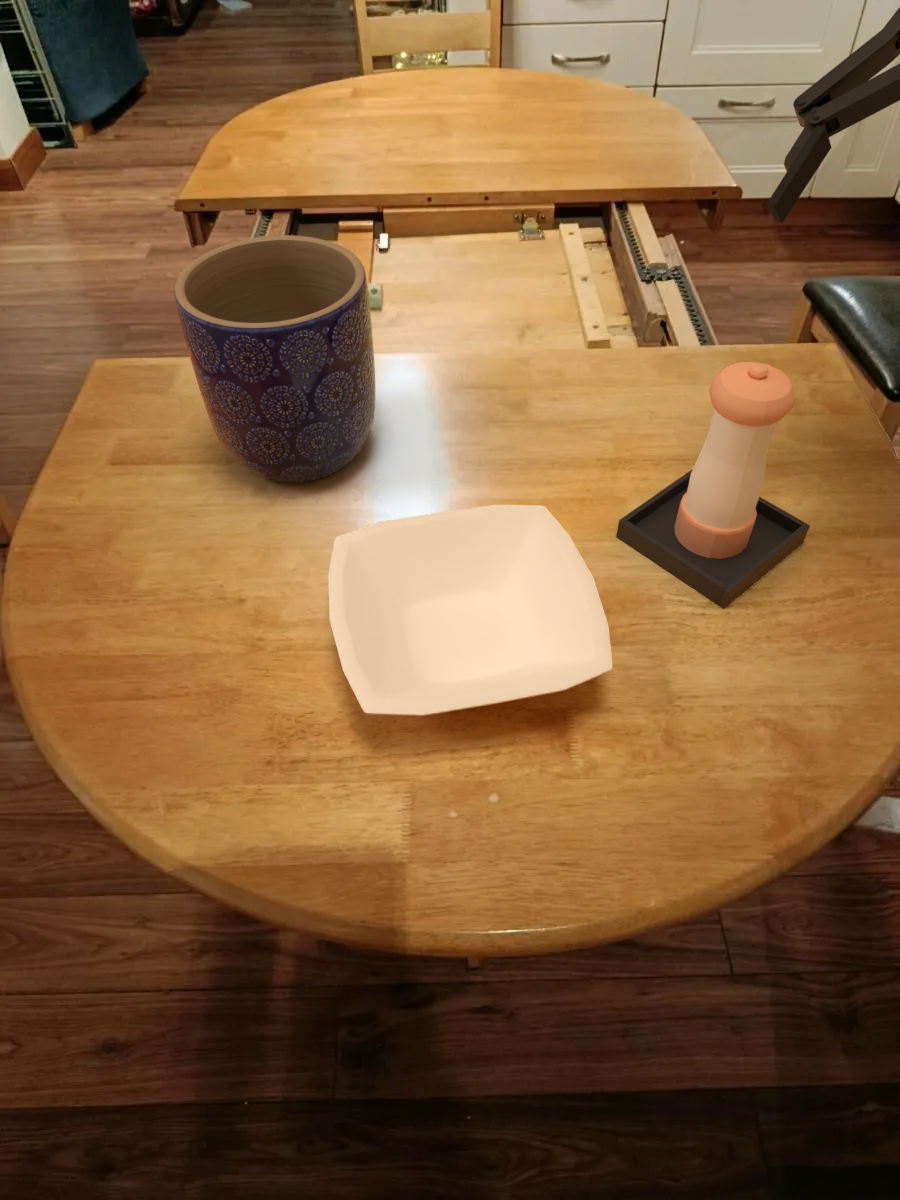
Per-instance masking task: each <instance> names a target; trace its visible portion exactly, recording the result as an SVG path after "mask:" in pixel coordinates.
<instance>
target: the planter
mask: <svg viewBox="0 0 900 1200" xmlns="http://www.w3.org/2000/svg"><path fill="white" fill-rule="evenodd" d="M367 280H368V279H367V275H366V269H365V266H364V265H363V263H362V261H361V260H360V259H359V257H357V255H356V254H355V253H353V252H352V251H350V250H349V249H348V248H346V247H344V246H342V245H339V244H337V243H335V242H333V241H329V240H326V239H322V238H318V237H313V236H306V235H305V236H304V235H291V234H284V235H283V234H282V235H281V234H280V235H265V236H258V237H251V238H246V239H241V240H237V241H233V242H230V243H227V244H224V245H221V246H218V247H216V248H214V249H211V250H209V251H208V252H205V253H203V254H202V255H200V256H198V257H197V258H196V259H194V260H193V261H191V262H190V263H189V264H188V265H187V266H186V267H185V268H184V269H183V270H182V271H181V272H180V273H179V276H178V277H177V279H176V281H175V284H174V290H173V295H174V300H175V306H176V309H177V314H178V318H179V321H180V325H181V329H182V333H183V336H184V340H185V345H186V348H187V352H188V355H189V359H190V363H191V365H192V369H193V372H194V376H195V379H196V382H197V385H198V389H199V392H200V395H201V398H202V401H203V404H204V408H205V409H206V413H207V415H208V418H209V421H210V423H211V427H212V428H213V431H214V432H215V434H216V436H217V438H218V440H219V442H220V444H221V445H222V447H223V448H224V449H225V450H226V452H227V453H228V454H229V455H230V456H231V458H233V459H234V460H235V461H236V462H237V463H239V464H240V465H241V466H242V467H243V468H244V469H246V470H248V471H249V472H251V473H253V474H255V475H257V476H259V477H262V478H264V479H267V480H271V481H276V482H282V483H305V482H312V481H316V480H319V479H322V478H326V477H328V476H330V475H332V474H334V473H336V472H338V471H339V470H341V469H343V468H344V467H346V466H348V464H349V463H350V462H351V461H352V460H353V459H354V458H355V457H356V456H357V455H358V453H359V452H360V451H361V450H362V448H363V447H364V445H365V443H366V442H367V439H368V437H369V435H370V432H371V430H372V427H373V425H374V419H375V412H376V365H375V351H374V338H373V336H374V335H373V324H372V316H371V304H370V296H369V287H368V281H367Z"/></svg>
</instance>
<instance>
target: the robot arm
mask: <svg viewBox="0 0 900 1200" xmlns="http://www.w3.org/2000/svg"><path fill="white" fill-rule="evenodd" d="M899 56H900V7H898V9H896V11H895V12H894V13H893V15H892V16H891V17H890V19H889V20H888V21H887V23H886V24H885V25H884V27H883V28H882V29H881V30H880V31H878V32H877V33H876V34H874V35H873V36H872V37H871V38H869V39H868V40H866V42H865V43H863V44H862V45H861V46H859V47H858V48H857V49H856V50H854V51H853V52H852V53H851V54H849V55H848V56H847V57H846V58H844V59H843V60H842V61H841V62H839V63H838V64H837V65H836V66H834V68H832V69H831V70H829V71H828V72H827V73H826V74H824V75H823V76H822V77H820V78H819V79H818V80H817V81H816V82H814V83H813V84H812V85H811V86H809V87H808V88H807V89H806V90H805V91H803V92H802V93H801V94H800V95H798V96H797V97H796V98H795V99H794V100H793V104H792V106H793V109H794V113H795V115H796V118H797V121H798V123H799V126H800V127H801V128H803V129H802V130H801V132H800V134H799V136H798V137H797V138H796V140H795V141H794V143H793V145H791V147H790V150H789V151H788V153H787V154H786V155H785V157H784V161H783V165H784V169H785V171H786V172H785V175H783V177H782V179H781V180H780V182H779V184H778V185H777V187H776V188H775V190H774V191H773V192H772V194H771V196H770V197H769V199H768V201H767V202H766V205H767V207H768V209H769V211H770V214H771V216H772V219H773V220H774V222H775V221H776V222H778V223H781V224H783V223H784V221H785V220H786V218H787V217H788V215H789V213H790V212H791V210H793V207H794V206H795V205H796V203H797V201H798V200H799V198H800V197H801V195H802V193H804V190H805V189H806V188H807V186H808V185H809V183H810V182H811V180H812V179H813V177H814V176H815V174H816V172H817V171H818V169H819V168H820V166H821V165H822V163H823V161H824V160H825V158H826V157H827V155H828V154H829V153H830V151H831V149H832V145H831V140H830V138H831V137H833V136H834V135H837V134H838V133H840V132H842V131H844V130H846V129H848V128H850V127H852V126H854V125H856V124H857V123H859V122H861V121H863V120H865V119H867V118H869V117H871V116H873V115H875V114H877V113H878V112H880V111H882V110H885V109H886V108H889V107H890V106H892V105H894V104H896V103H898V102H899V101H900V62H899V63H898V64H896V65H894V66H892V67H891V68H889V69H887V70H885V71H883V70H884V69H885V68H887V66H889V65H890V64H891V63H892V62H894V61H895V60H896V59H897V58H898V57H899ZM881 71H883V72H881ZM880 72H881V73H880Z"/></svg>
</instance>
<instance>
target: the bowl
mask: <svg viewBox="0 0 900 1200" xmlns="http://www.w3.org/2000/svg"><path fill="white" fill-rule="evenodd" d="M327 571H328V574H327V577H328V605H329V606H328V612H329V613H328V615H329V624H330V627H331V630H332V634H333V638H334V642H335V645H336V649H337V654H338V657H339V660H340V664H341V669H342V671H343V674H344V675H345V677H346V680H347V681H348V683H349V686H350V688H351V689H352V692H353V693H354V695H355V698H356V699H357V702H358V703H359V705H360V707H361V710H362V712H363V713H364V714H366V715H374V716H375V715H376V716H378V715H379V716H409V717H410V716H411V717H412V716H413V717H424V716H430V715H437V714H442V713H443V714H444V713H449V712H455V711H461V710H462V711H463V710H467V709H473V708H479V707H485V706H491V705H492V706H493V705H497V704H502V703H507V702H513V701H518V700H523V699H529V698H534V697H538V696H544V695H549V694H555V693H560V692H564V691H567V690H570V689H572V688H574V687H576V686H579V685H581V684H584V683H586V682H588V681H591V680H593V679H595V678H598V677H600V676H603V675H605V674H607V673H610V672H611V671H612V670H613V667H614V666H613V657H612V646H611V645H612V644H611V635H610V626H609V623H608V618H607V616H606V613H605V611H604V606H603V603H602V600H601V597H600V594H599V591H598V588H597V585H596V584H597V583H596V582H595V579H594V576H593V574H592V572H591V570H590V569H589V567H588V565H587V563H586V561H585V560H584V559H583V557H582V555H581V553H580V551H579V549H578V547H577V546H576V544H575V542H574V540H573V539H572V537H571V536H570V534H569V533H568V532H567V529H565V528H564V527H563V526H562V524H561V523H560V522H559V521H558V519H556V517H555V516H554V515H553V514H552V513H551V512H550V510H549V508H547V507H546V506H545V505H541V504H540V505H538V504H537V505H536V504H498V503H497V504H492V505H482V506H476V507H475V506H474V507H469V508H461V509H454V510H448V511H440V512H433V513H428V514H422V515H415V516H409V517H403V518H402V517H401V518H395V519H389V520H383V521H378V522H376V523H372V524H369V525H367V526H364V527H361V528H357V529H355V530H352V531H349V532H345V533H343V534H340V535H337V536H336V537H335V538H334V542H333V547H332V552H331V557H330V562H329V566H328V570H327Z"/></svg>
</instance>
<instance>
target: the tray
mask: <svg viewBox="0 0 900 1200" xmlns="http://www.w3.org/2000/svg"><path fill="white" fill-rule="evenodd" d="M692 470H693V468H692V469H690V470H689V471H688V472H687V473H684V474H683V475H682V476H680V477H679V478H678V479H675V481H673V482H671V483H670V484H668V486H666V487H664V488H663V489H662V490H660V491H659V492H657V493H656V494H655V495H653V496H651V497H650V498H649V499H648V500H646V501H645V502H643V503H641V504H640V505H639V506H637V507H636V508H634V509H633V510H632V511H630V512H629V513H627V514H626V515H624V516H623V517H621V518H620V519H619V520H618V525H617V530H616V535H615V537H616V538H617V539H619V540H621V541H622V542H624V543H625V544H626V545H628V546H630V547H631V548H632V549H634V550H635V551H637V552H639V554H641V555H643V557H646V558H647V559H649V560H650V561H651V562H653V563H655V564H656V565H658V566H659V567H661V568H662V569H664V570H665V571H667V572H668V573H670V574H671V575H673V576H674V577H675V578H677V579H679V581H681V582H683V583H684V584H685V585H686V584H687V585H688V586H689V587H690V588H692V589H694V590H695V591H697V592H698V593H699V594H701V595H702V596H704V597H706V598H707V599H709V600H710V601H711V602H713V603H714V604H716V605H717V606H719V607H721V608H722V609H725V608H726V607H727V606H729V605H730V604H731V603H733V601H735V600H736V599H737V598H738V597H739V596H741V595H742V594H743V593H744V592H746V591H747V590H748V589H749V588H751V586H752V585H754V584H755V583H756V582H757V581H759V580H760V579H761V578H763V577H764V576H765V575H766V574H767V573H768V572H769V571H770V570H772V569H773V568H774V567H775V566H777V565H778V564H779V563H781V561H783V560H784V559H785V558H786V557H788V556H789V555H790V554H792V552H793V551H795V550H796V549H797V548H798V547H799V546H801V545H802V544H803V543H804V542H805V540H806V537H807V535H808V532H809V529H810V526H811V525H810V524H808V523H807V522H805V521H803V520H801V519H799V518H797V517H796V516H794V515H793V514H790V513H789V512H787V511H786V510H784V509H782V508H780V507H779V506H777V505H775V504H773V503H772V502H770V501H768V500H766V499H765V498H763V497H761V496H760V497H759V500H758V502H757V505H756V512H757V517H756V520H755V523H754V526H753V529H752V532H751V535H750V538H749V541H748V544H747V547H746V548H745V549H744V550H743V551H742V552H741V553H739V554H737V555H735V556H733V557H728V558H722V559H716V558H707V557H703V556H700V555H697V554H695V553H693V552H691V551H689V550H687V549H686V548H685V547H684V546H683V545H682V544H681V543H680V542H679V541H678V539H677V537H676V535H675V528H674V526H675V522H676V518H677V514H678V510H679V506H680V502H681V500H682V497H683V495H684V494H685V493H686V492H687V490H688V485H689V480H690V476H691V472H692Z"/></svg>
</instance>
